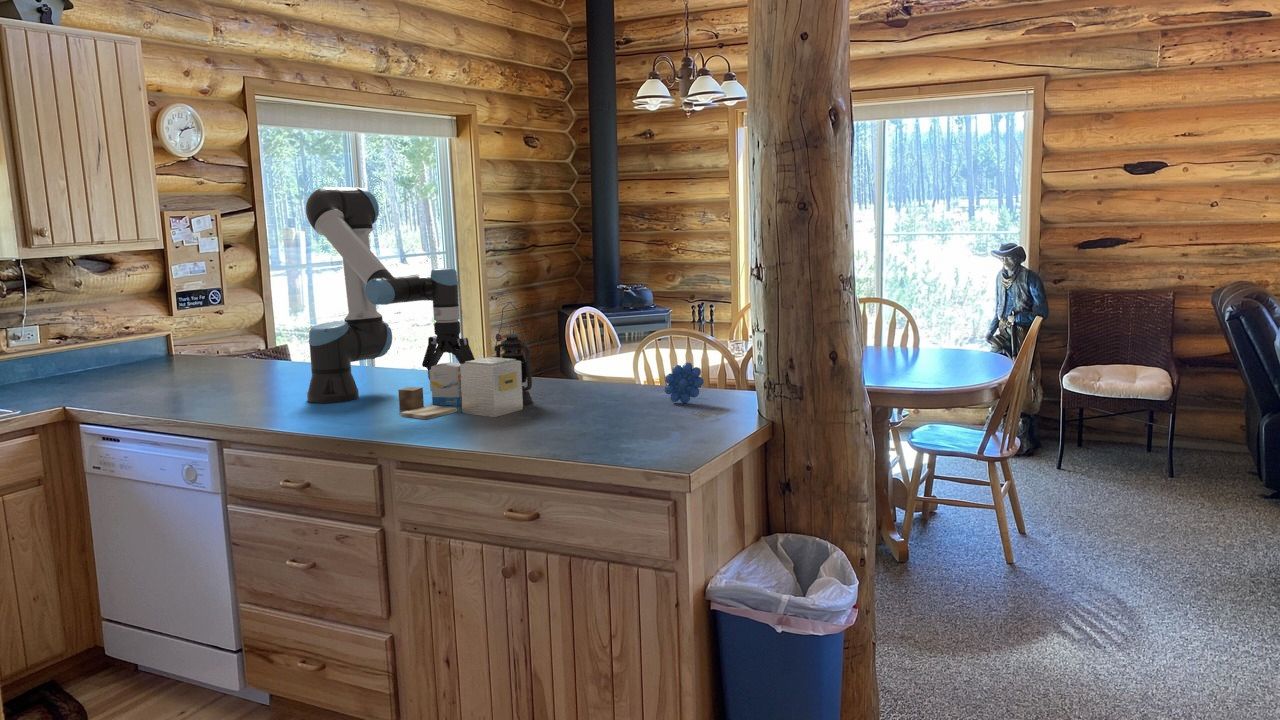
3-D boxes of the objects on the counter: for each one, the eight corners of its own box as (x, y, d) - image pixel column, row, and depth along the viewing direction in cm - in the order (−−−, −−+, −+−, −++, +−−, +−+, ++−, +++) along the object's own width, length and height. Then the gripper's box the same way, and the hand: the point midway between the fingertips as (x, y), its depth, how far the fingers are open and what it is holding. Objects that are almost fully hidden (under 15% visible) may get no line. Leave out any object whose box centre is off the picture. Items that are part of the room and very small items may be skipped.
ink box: (458, 406, 279) (456, 366, 278) (431, 405, 281) (429, 366, 279) (469, 400, 288) (468, 362, 286) (443, 400, 289) (441, 361, 288)
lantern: (541, 400, 285) (538, 300, 280) (523, 407, 275) (518, 303, 271) (506, 398, 290) (502, 299, 286) (486, 404, 280) (482, 302, 276)
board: (400, 416, 266) (400, 412, 266) (431, 408, 276) (431, 405, 276) (426, 419, 261) (426, 415, 261) (457, 411, 271) (457, 408, 271)
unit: (462, 413, 268) (460, 361, 266) (491, 405, 278) (488, 356, 276) (496, 417, 262) (493, 364, 260) (524, 409, 272) (522, 358, 270)
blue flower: (707, 401, 278) (706, 360, 277) (702, 405, 272) (701, 364, 270) (668, 399, 282) (667, 359, 280) (662, 404, 275) (661, 363, 274)
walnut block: (399, 410, 275) (398, 389, 274) (408, 407, 280) (407, 386, 279) (414, 411, 273) (413, 390, 273) (423, 407, 278) (422, 387, 277)
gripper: (407, 321, 284) (412, 391, 287) (469, 323, 271) (473, 397, 274) (425, 318, 291) (430, 387, 294) (487, 320, 277) (491, 392, 280)
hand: (451, 392), depth 284 cm, fingers open, 13 cm apart
